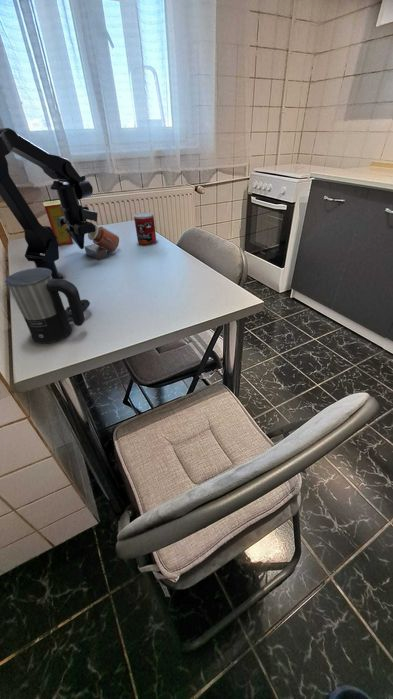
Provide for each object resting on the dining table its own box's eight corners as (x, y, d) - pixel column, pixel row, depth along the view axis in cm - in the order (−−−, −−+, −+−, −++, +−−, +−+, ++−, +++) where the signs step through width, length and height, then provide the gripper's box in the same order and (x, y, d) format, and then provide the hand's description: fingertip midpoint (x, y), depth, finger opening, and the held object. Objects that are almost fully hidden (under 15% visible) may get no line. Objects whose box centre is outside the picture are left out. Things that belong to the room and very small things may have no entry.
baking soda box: (73, 243, 128) (61, 203, 118) (57, 246, 125) (44, 205, 116) (70, 237, 134) (59, 199, 125) (55, 240, 132) (42, 201, 123)
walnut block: (108, 257, 112) (106, 249, 110) (98, 260, 110) (96, 252, 108) (95, 251, 118) (93, 243, 116) (86, 254, 116) (84, 246, 114)
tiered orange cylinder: (126, 251, 116) (120, 222, 110) (100, 259, 110) (92, 229, 104) (115, 246, 121) (109, 218, 115) (90, 254, 115) (82, 225, 109)
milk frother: (27, 347, 67) (-2, 287, 58) (38, 314, 79) (15, 260, 70) (92, 336, 69) (74, 277, 60) (92, 305, 82) (78, 252, 73)
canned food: (135, 245, 123) (130, 216, 116) (143, 239, 129) (139, 212, 122) (151, 246, 121) (148, 217, 114) (159, 240, 127) (156, 212, 120)
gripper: (104, 201, 98) (114, 248, 108) (79, 195, 109) (90, 238, 119) (72, 208, 92) (85, 257, 102) (49, 200, 103) (63, 245, 113)
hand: (82, 248), depth 109 cm, fingers closed
